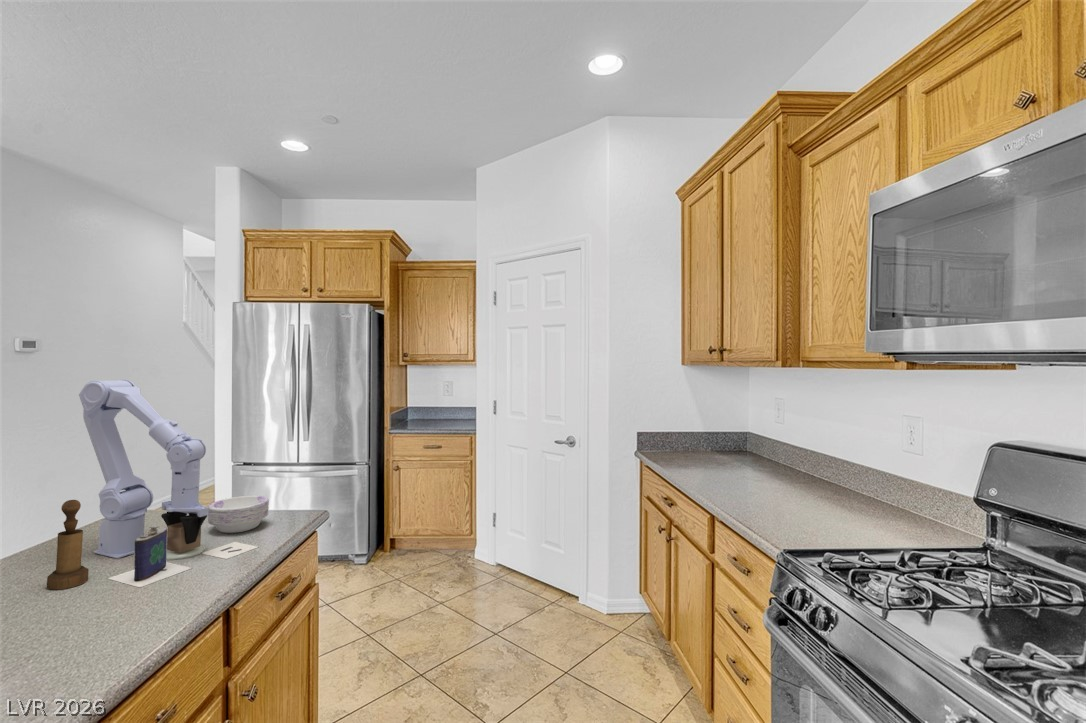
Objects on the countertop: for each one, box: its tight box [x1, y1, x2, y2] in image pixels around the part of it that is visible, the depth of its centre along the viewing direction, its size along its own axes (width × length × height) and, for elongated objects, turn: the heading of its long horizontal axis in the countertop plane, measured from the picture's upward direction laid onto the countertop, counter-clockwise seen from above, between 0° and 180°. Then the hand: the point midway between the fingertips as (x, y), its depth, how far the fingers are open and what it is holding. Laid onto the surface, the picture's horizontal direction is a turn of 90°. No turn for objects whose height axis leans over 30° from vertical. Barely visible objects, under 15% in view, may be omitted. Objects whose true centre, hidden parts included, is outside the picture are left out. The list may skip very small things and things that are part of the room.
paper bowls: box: [207, 495, 270, 534], centre depth 144 cm, size 15×15×8 cm
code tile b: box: [201, 541, 259, 560], centre depth 126 cm, size 9×9×1 cm
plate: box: [166, 544, 206, 561], centre depth 124 cm, size 9×9×1 cm
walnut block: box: [166, 522, 202, 553], centre depth 124 cm, size 5×5×6 cm
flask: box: [133, 525, 168, 582], centre depth 112 cm, size 9×3×11 cm, turn 8°
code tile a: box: [107, 561, 193, 588], centre depth 111 cm, size 11×11×1 cm
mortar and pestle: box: [46, 499, 89, 591], centre depth 106 cm, size 7×6×18 cm
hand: (183, 541), depth 124 cm, fingers closed on walnut block, 5 cm apart
